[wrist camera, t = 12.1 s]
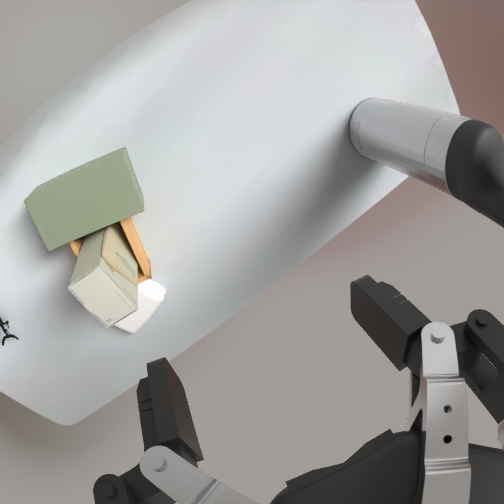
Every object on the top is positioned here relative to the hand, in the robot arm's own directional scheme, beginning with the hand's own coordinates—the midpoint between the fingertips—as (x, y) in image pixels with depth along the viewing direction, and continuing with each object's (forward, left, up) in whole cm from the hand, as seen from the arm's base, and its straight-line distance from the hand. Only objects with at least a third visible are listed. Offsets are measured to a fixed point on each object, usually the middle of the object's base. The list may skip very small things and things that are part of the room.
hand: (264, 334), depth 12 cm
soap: (+12, +15, -29) cm, 35 cm away
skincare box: (+11, +6, -28) cm, 31 cm away
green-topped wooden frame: (+11, +3, -28) cm, 30 cm away
